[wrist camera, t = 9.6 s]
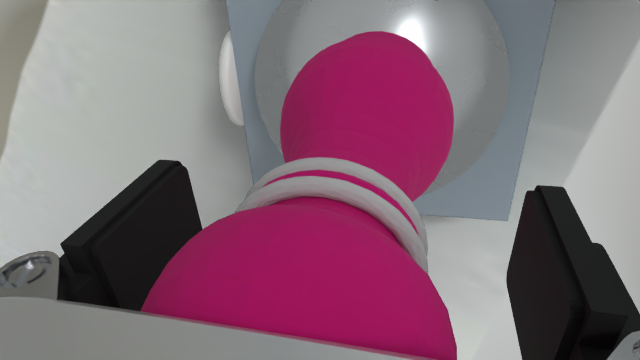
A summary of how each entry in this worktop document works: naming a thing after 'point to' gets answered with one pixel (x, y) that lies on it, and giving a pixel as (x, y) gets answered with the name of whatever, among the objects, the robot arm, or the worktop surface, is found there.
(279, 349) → the robot arm
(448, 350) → the pepper mill
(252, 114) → the scale
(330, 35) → the pan
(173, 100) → the worktop surface
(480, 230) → the worktop surface
